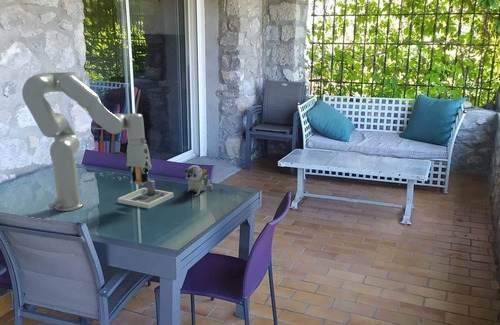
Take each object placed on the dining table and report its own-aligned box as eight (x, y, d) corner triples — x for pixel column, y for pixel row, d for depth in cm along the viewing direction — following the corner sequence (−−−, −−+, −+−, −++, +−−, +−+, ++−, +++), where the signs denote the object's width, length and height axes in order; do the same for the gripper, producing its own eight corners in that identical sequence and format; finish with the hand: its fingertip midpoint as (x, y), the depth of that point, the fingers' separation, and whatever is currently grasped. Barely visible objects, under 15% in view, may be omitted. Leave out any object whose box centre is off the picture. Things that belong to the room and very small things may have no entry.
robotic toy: (177, 196, 233) (175, 166, 229) (197, 187, 248) (196, 158, 244) (199, 200, 227) (198, 169, 223) (219, 190, 242) (218, 161, 238)
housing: (148, 210, 215) (148, 204, 214) (118, 204, 223) (117, 198, 222) (173, 198, 230) (173, 192, 229) (143, 193, 238) (143, 187, 238)
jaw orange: (147, 181, 222) (146, 164, 220) (141, 184, 218) (139, 167, 216) (140, 180, 224) (138, 163, 222) (133, 183, 220) (131, 166, 218)
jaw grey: (152, 199, 227) (151, 182, 225) (144, 197, 229) (143, 181, 227) (158, 196, 231) (157, 180, 229) (150, 195, 233) (149, 179, 231)
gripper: (157, 141, 215) (160, 180, 220) (127, 138, 223) (131, 177, 228) (145, 144, 209) (149, 185, 213) (116, 142, 217) (120, 181, 221)
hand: (140, 180), depth 220 cm, fingers closed on jaw orange, 4 cm apart
